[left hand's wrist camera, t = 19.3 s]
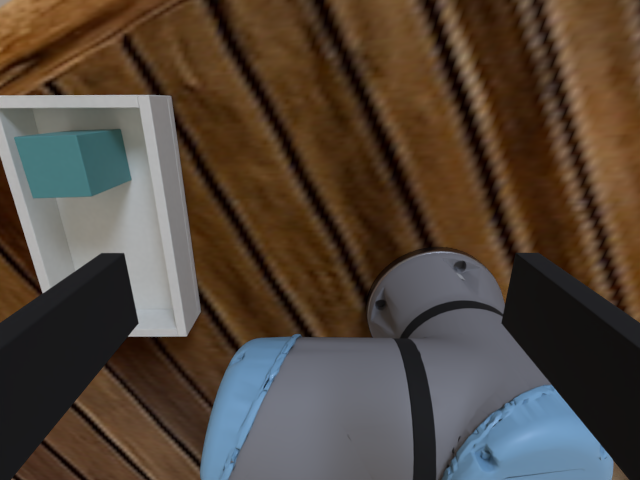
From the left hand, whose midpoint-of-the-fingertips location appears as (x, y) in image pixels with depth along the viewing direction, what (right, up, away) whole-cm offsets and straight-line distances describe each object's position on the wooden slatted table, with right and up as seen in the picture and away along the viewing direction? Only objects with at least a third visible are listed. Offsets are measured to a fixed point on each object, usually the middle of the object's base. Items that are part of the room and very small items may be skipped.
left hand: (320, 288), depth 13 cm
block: (-22, +10, +24) cm, 34 cm away
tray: (-21, +4, +27) cm, 35 cm away
